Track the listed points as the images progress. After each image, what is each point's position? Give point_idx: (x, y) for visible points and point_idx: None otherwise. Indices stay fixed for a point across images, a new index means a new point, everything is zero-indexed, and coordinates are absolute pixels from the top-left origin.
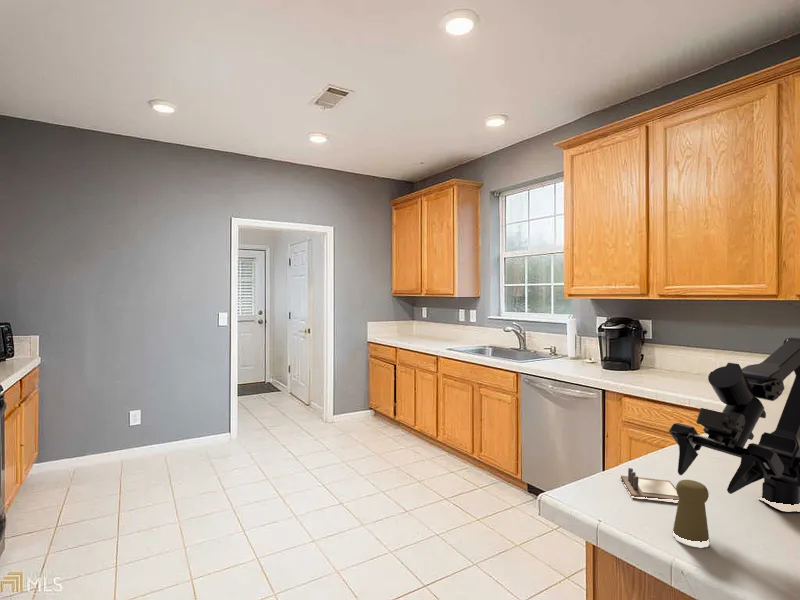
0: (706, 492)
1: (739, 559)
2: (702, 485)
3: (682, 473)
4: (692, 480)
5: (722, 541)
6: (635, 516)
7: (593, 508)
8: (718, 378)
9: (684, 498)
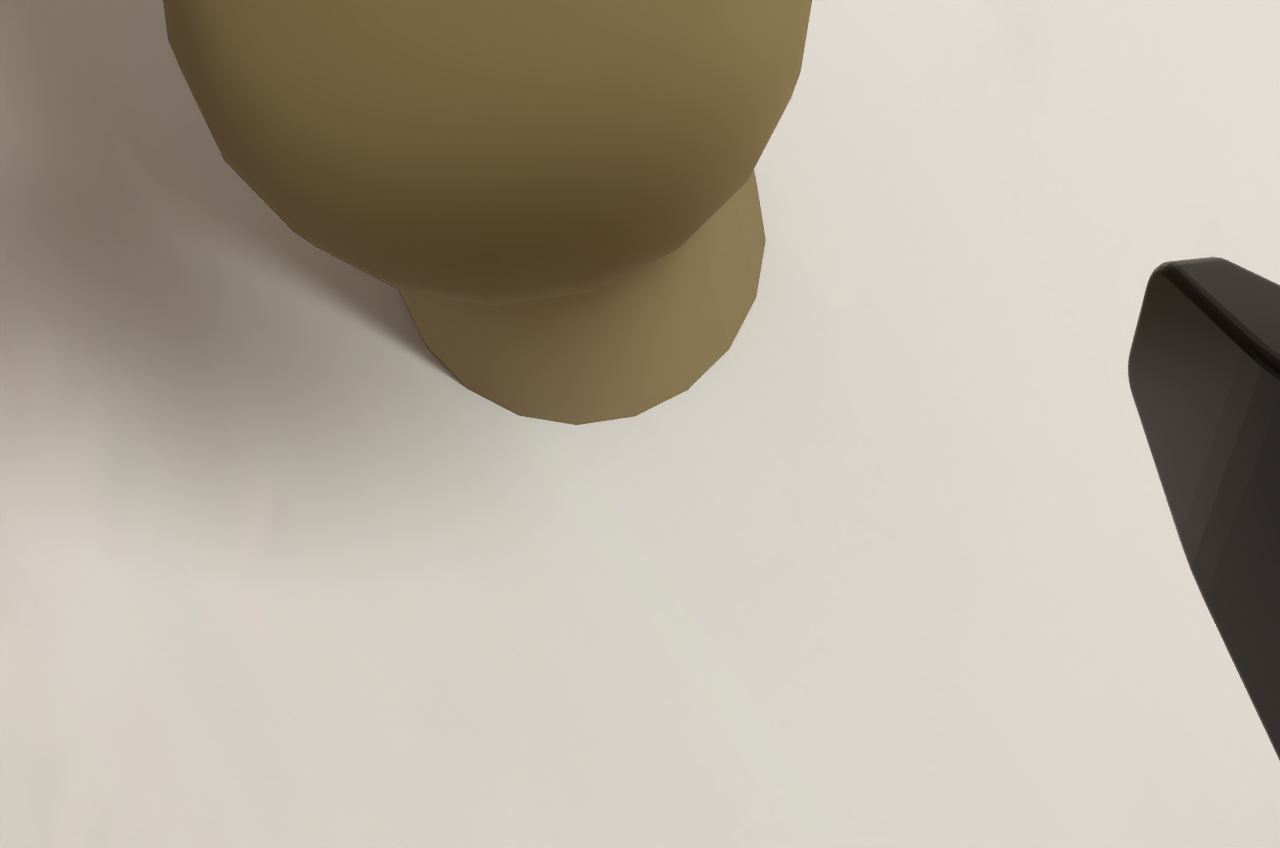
0: (166, 14)
1: (119, 373)
2: (265, 14)
3: (1152, 411)
4: (588, 57)
5: (427, 565)
6: (1215, 83)
7: None
8: None
9: None
